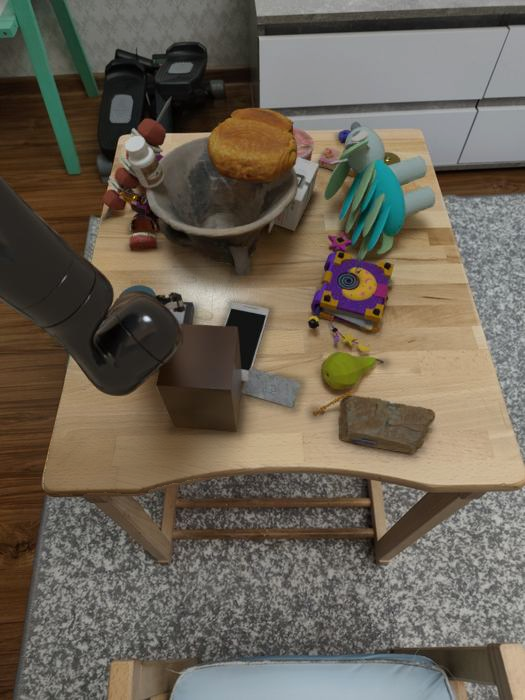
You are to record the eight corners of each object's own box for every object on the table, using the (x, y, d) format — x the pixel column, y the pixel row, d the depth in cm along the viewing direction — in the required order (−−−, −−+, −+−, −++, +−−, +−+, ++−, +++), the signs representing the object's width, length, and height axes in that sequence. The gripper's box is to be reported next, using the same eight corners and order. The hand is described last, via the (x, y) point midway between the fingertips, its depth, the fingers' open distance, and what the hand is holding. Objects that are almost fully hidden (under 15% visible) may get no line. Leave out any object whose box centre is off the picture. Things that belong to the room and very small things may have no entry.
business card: (300, 381, 80) (301, 380, 80) (293, 408, 77) (293, 406, 77) (249, 368, 81) (249, 367, 81) (240, 394, 79) (240, 393, 78)
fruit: (314, 350, 78) (370, 334, 83) (313, 383, 80) (368, 365, 86) (339, 366, 73) (397, 347, 78) (337, 400, 75) (393, 380, 81)
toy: (318, 158, 107) (326, 145, 109) (317, 165, 108) (325, 153, 111) (370, 174, 104) (377, 160, 106) (368, 181, 106) (375, 168, 108)
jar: (126, 342, 81) (113, 315, 74) (133, 312, 84) (121, 284, 78) (162, 344, 81) (152, 317, 74) (168, 314, 84) (159, 285, 77)
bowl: (223, 176, 107) (218, 113, 94) (319, 231, 98) (327, 169, 85) (133, 245, 96) (113, 184, 83) (231, 313, 87) (226, 257, 74)
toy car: (139, 193, 88) (132, 217, 89) (178, 205, 99) (171, 226, 100) (117, 183, 90) (110, 207, 91) (157, 196, 101) (151, 217, 102)
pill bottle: (155, 191, 82) (137, 156, 75) (135, 185, 83) (116, 149, 77) (169, 173, 83) (153, 136, 76) (149, 167, 85) (131, 130, 78)
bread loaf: (197, 148, 76) (199, 185, 83) (293, 169, 75) (287, 204, 82) (219, 89, 82) (220, 128, 89) (308, 108, 81) (301, 146, 89)
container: (309, 191, 104) (312, 160, 97) (261, 188, 104) (261, 157, 98) (311, 160, 109) (315, 128, 102) (266, 157, 110) (266, 125, 103)
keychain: (315, 414, 77) (315, 418, 77) (311, 409, 77) (311, 413, 76) (356, 391, 74) (356, 395, 73) (352, 386, 74) (352, 390, 73)
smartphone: (207, 375, 81) (207, 372, 80) (232, 304, 89) (232, 301, 88) (248, 384, 80) (248, 381, 80) (269, 311, 88) (269, 308, 87)
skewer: (105, 224, 104) (175, 97, 93) (114, 236, 102) (187, 108, 91) (84, 217, 100) (155, 83, 89) (93, 230, 98) (167, 95, 87)
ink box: (312, 195, 104) (289, 242, 97) (291, 188, 104) (267, 234, 97) (320, 163, 96) (296, 212, 89) (297, 155, 97) (272, 203, 90)
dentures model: (124, 238, 91) (128, 209, 96) (129, 253, 95) (132, 225, 99) (154, 237, 92) (156, 208, 96) (157, 253, 95) (159, 224, 100)
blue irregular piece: (334, 137, 114) (335, 127, 112) (348, 129, 115) (349, 119, 113) (362, 157, 110) (364, 147, 108) (376, 148, 112) (378, 138, 109)
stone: (428, 420, 76) (437, 404, 72) (427, 459, 73) (437, 445, 68) (339, 404, 78) (343, 388, 74) (334, 441, 75) (338, 426, 70)
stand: (174, 428, 76) (155, 385, 63) (183, 373, 81) (168, 323, 68) (236, 431, 76) (231, 389, 63) (242, 376, 81) (237, 326, 68)
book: (294, 337, 84) (299, 295, 74) (329, 238, 97) (336, 190, 86) (376, 359, 82) (392, 318, 72) (400, 255, 94) (417, 207, 84)
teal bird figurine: (422, 92, 85) (337, 113, 80) (454, 232, 90) (377, 261, 85) (378, 120, 98) (303, 140, 93) (409, 242, 103) (339, 266, 98)
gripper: (181, 280, 64) (175, 273, 80) (73, 308, 62) (89, 295, 78) (196, 333, 66) (187, 316, 82) (91, 362, 64) (104, 339, 80)
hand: (139, 306), depth 80 cm, fingers closed on jar, 6 cm apart
